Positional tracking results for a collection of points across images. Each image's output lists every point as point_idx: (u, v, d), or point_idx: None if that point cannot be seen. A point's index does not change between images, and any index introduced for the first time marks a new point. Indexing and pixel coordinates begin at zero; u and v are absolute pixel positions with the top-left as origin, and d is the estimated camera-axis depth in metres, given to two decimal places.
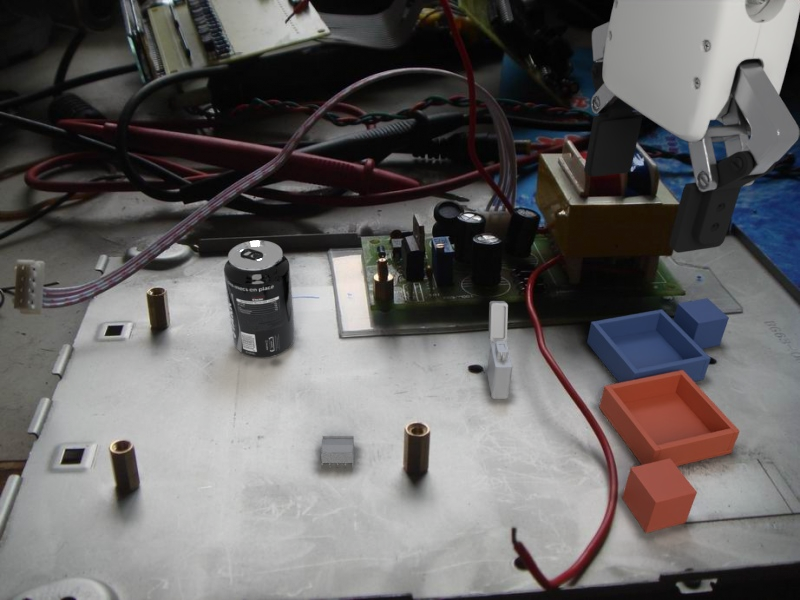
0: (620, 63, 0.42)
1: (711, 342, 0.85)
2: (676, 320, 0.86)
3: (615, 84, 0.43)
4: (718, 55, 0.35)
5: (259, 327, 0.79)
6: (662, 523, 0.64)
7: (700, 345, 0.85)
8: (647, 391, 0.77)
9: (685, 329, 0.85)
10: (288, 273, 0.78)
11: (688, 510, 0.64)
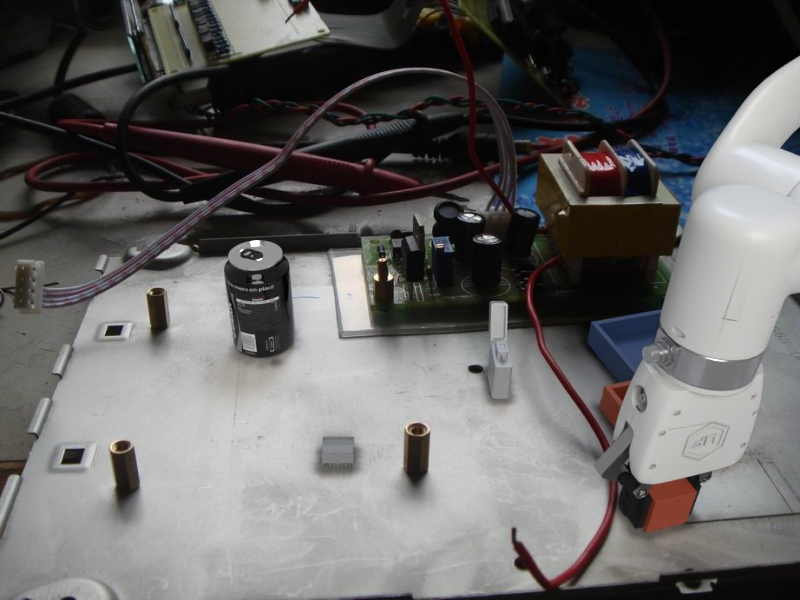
0: None
1: None
2: None
3: None
4: (621, 407, 0.60)
5: (259, 327, 0.79)
6: (662, 523, 0.64)
7: None
8: None
9: None
10: (288, 273, 0.78)
11: (688, 510, 0.64)
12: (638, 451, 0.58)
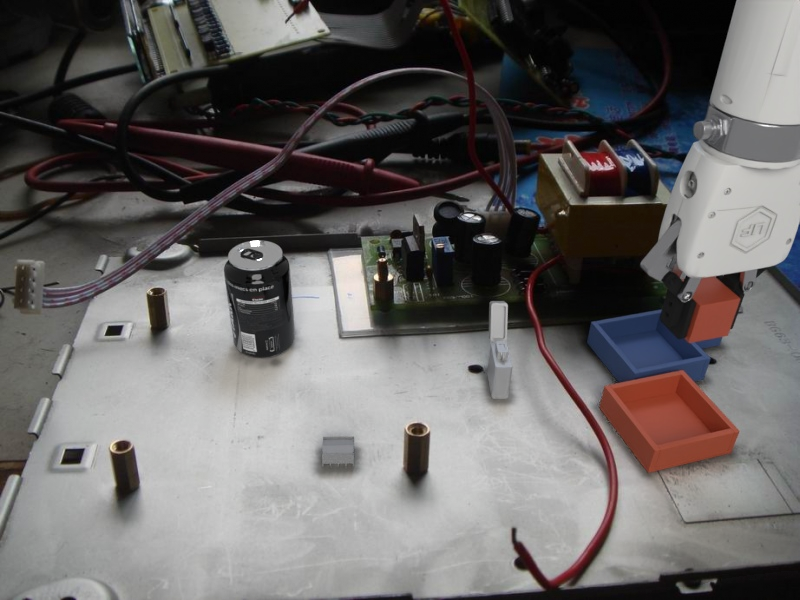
0: None
1: (711, 342, 0.85)
2: None
3: None
4: None
5: (259, 327, 0.79)
6: (705, 333, 0.65)
7: (700, 345, 0.85)
8: (647, 391, 0.77)
9: None
10: (288, 273, 0.78)
11: (731, 320, 0.65)
12: (686, 240, 0.58)
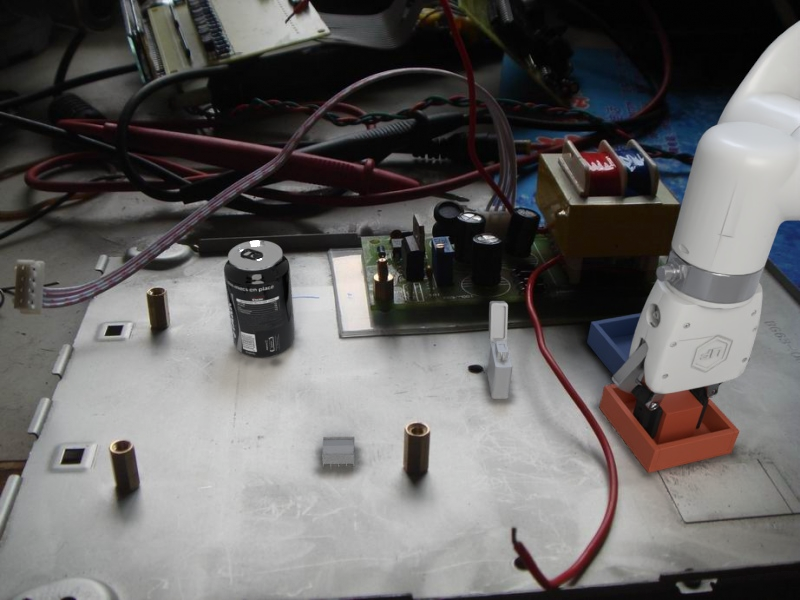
0: None
1: None
2: None
3: None
4: None
5: (259, 327, 0.79)
6: (672, 435, 0.72)
7: None
8: None
9: None
10: (288, 273, 0.78)
11: (695, 424, 0.72)
12: (652, 363, 0.66)
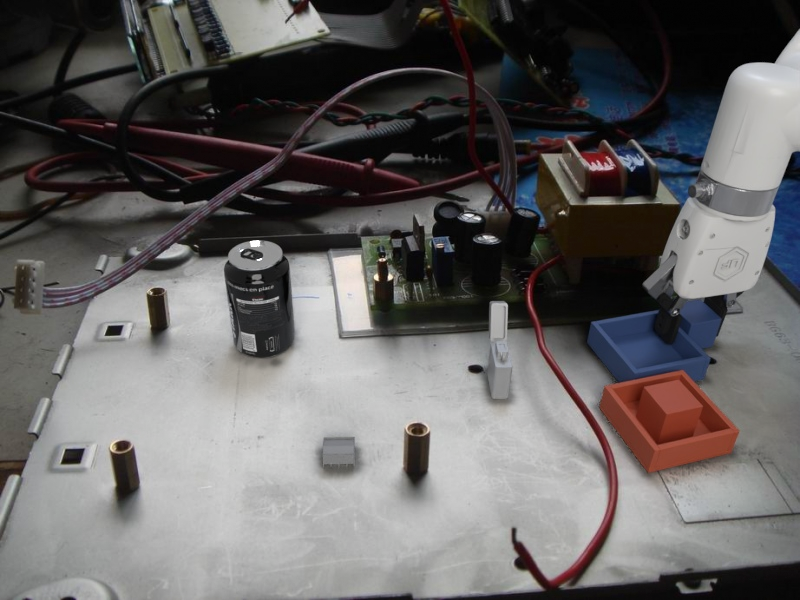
0: None
1: (704, 343, 0.85)
2: None
3: None
4: (667, 241, 0.79)
5: (259, 327, 0.79)
6: (672, 435, 0.72)
7: None
8: None
9: None
10: (288, 273, 0.78)
11: (695, 424, 0.72)
12: (681, 270, 0.77)
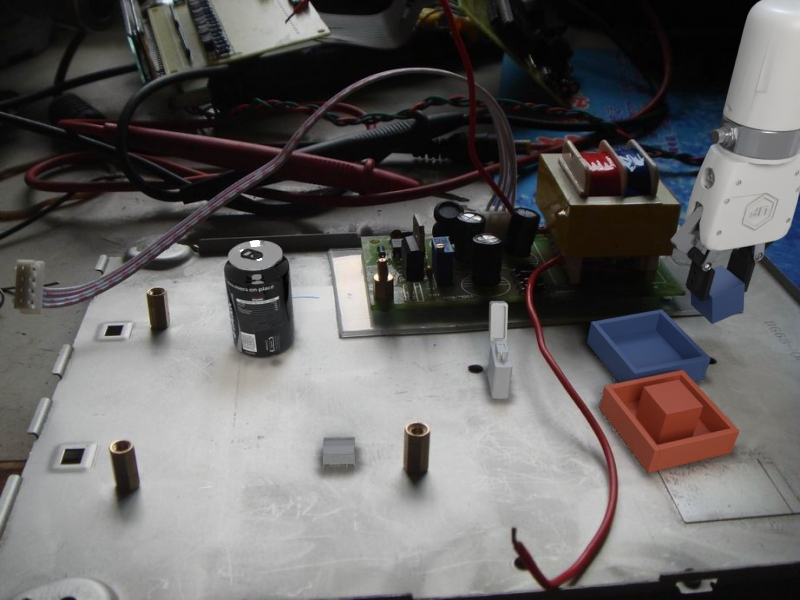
0: None
1: (733, 310, 0.83)
2: (693, 294, 0.84)
3: None
4: None
5: (259, 327, 0.79)
6: (672, 435, 0.72)
7: (721, 316, 0.83)
8: None
9: (703, 303, 0.83)
10: (288, 273, 0.78)
11: (695, 424, 0.72)
12: (707, 221, 0.75)
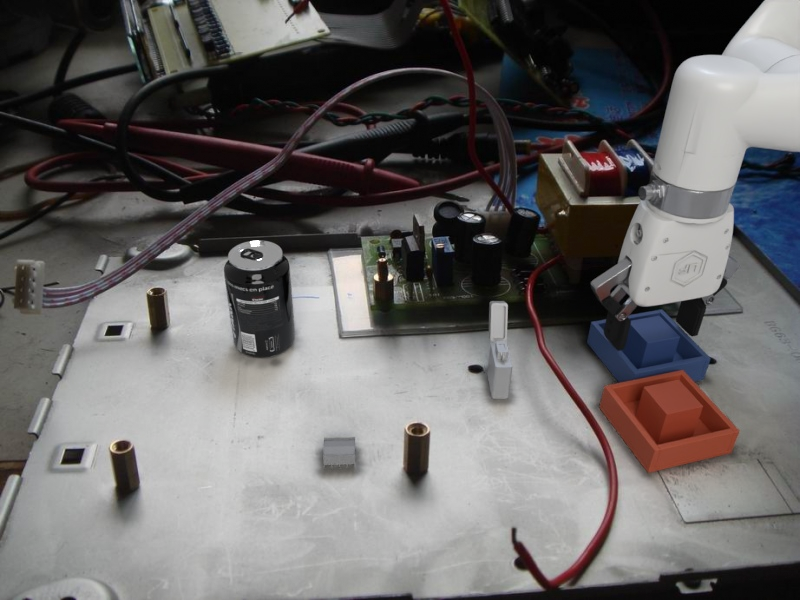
0: None
1: (662, 362, 0.81)
2: (627, 338, 0.83)
3: None
4: (622, 246, 0.75)
5: (259, 327, 0.79)
6: (672, 435, 0.72)
7: (650, 365, 0.81)
8: None
9: (635, 348, 0.81)
10: (288, 273, 0.78)
11: (695, 424, 0.72)
12: (635, 277, 0.73)
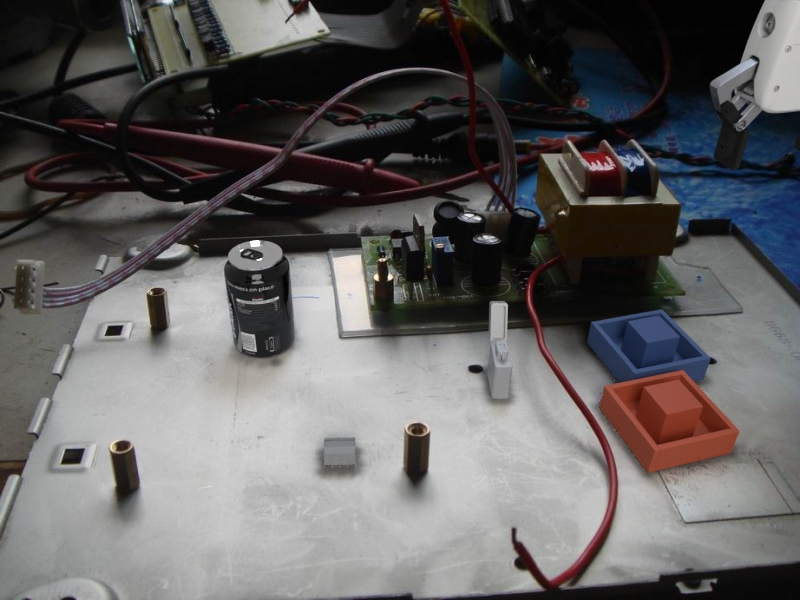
0: None
1: (662, 362, 0.81)
2: (627, 338, 0.83)
3: None
4: None
5: (259, 327, 0.79)
6: (672, 435, 0.72)
7: (650, 365, 0.81)
8: None
9: (635, 348, 0.81)
10: (288, 273, 0.78)
11: (695, 424, 0.72)
12: (764, 75, 0.67)
